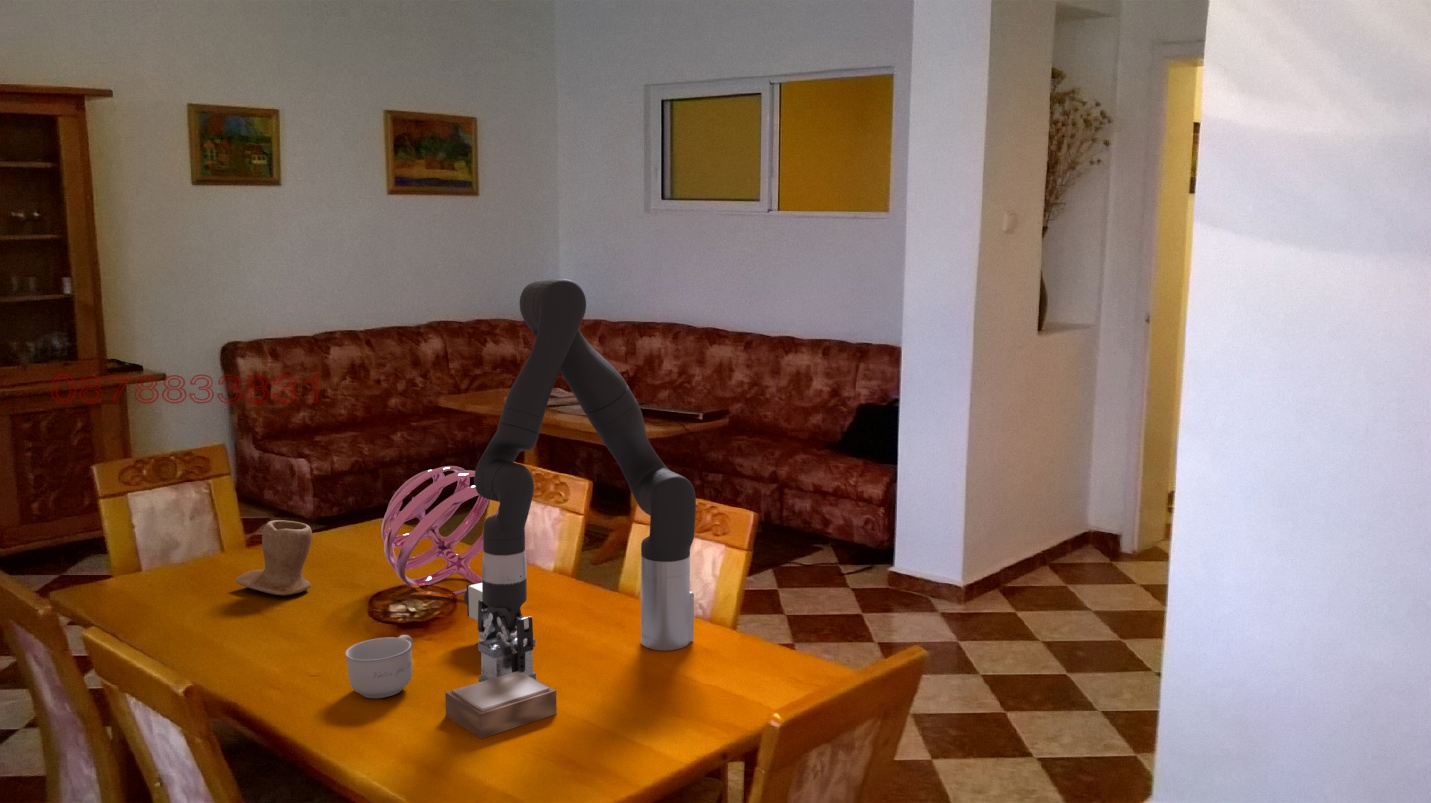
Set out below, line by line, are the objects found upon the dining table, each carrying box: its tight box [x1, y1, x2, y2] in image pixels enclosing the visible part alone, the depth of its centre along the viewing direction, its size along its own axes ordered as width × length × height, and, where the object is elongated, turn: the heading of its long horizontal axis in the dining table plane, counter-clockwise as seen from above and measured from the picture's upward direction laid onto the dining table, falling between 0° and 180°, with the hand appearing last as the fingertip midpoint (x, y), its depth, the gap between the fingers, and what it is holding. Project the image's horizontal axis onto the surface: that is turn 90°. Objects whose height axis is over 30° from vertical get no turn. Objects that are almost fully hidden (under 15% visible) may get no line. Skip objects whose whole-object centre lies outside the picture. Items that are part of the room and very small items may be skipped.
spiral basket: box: [381, 465, 500, 597], centre depth 252 cm, size 28×28×27 cm
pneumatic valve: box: [463, 582, 504, 642], centre depth 222 cm, size 6×12×12 cm, turn 42°
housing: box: [477, 631, 537, 683], centre depth 203 cm, size 8×5×8 cm, turn 132°
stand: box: [444, 671, 558, 739], centre depth 190 cm, size 14×11×4 cm
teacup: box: [344, 634, 414, 699], centre depth 200 cm, size 14×11×8 cm
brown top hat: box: [235, 519, 313, 596], centre depth 251 cm, size 15×12×15 cm
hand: (505, 665), depth 204 cm, fingers open, 8 cm apart
